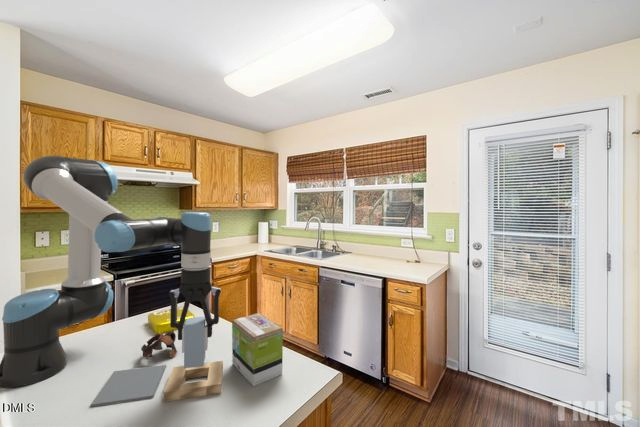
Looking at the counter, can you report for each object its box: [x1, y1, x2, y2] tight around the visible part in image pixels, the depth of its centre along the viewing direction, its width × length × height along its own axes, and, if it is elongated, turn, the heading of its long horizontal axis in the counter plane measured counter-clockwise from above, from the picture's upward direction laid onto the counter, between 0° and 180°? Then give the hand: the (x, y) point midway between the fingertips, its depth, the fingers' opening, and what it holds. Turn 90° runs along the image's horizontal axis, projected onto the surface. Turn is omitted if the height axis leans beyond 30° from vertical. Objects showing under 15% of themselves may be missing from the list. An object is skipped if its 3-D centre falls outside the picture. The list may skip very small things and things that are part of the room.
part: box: [183, 316, 207, 368], centre depth 83 cm, size 5×5×12 cm
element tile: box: [147, 306, 195, 335], centre depth 123 cm, size 15×15×5 cm
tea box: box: [231, 312, 284, 387], centre depth 91 cm, size 15×10×15 cm, turn 40°
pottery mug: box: [140, 331, 178, 360], centre depth 99 cm, size 12×10×8 cm
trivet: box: [89, 364, 167, 408], centre depth 83 cm, size 14×15×1 cm
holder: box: [163, 360, 224, 402], centre depth 83 cm, size 14×12×2 cm
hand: (195, 349), depth 83 cm, fingers closed on part, 5 cm apart
